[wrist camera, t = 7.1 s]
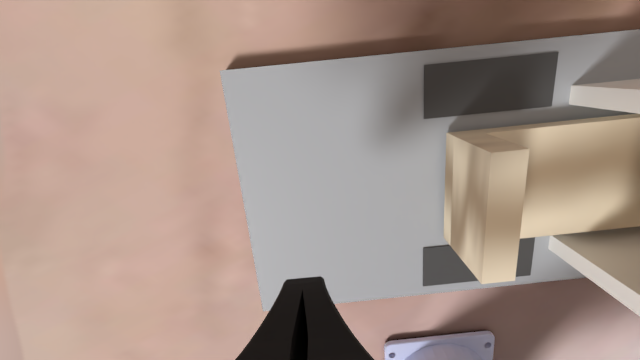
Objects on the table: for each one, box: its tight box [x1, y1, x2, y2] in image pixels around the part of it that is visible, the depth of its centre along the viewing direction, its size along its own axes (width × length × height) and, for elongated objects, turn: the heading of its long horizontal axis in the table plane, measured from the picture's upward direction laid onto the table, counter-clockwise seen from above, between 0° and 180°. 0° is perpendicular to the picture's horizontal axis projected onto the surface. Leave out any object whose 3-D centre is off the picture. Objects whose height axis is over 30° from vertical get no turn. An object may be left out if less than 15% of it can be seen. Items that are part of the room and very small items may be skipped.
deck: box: [220, 29, 640, 311], centre depth 20 cm, size 15×34×1 cm, turn 95°
